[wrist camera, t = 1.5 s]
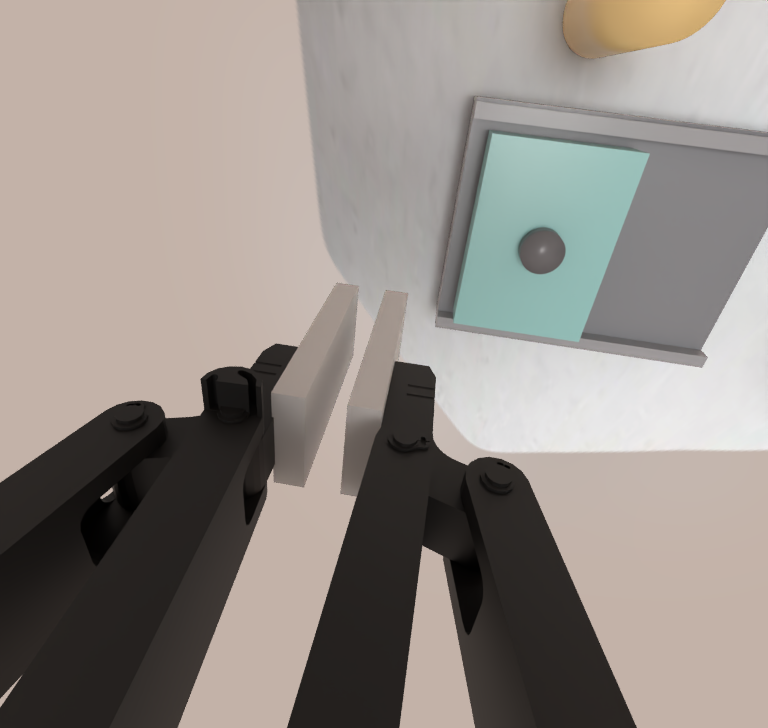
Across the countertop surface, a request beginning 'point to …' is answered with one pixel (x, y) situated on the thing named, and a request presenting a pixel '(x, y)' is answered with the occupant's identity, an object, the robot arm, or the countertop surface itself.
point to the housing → (641, 226)
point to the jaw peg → (632, 24)
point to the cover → (543, 232)
